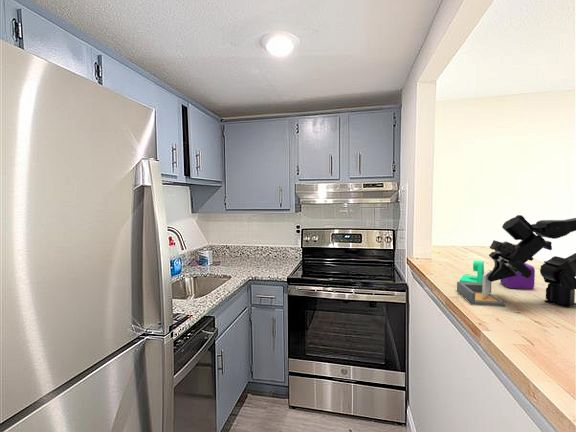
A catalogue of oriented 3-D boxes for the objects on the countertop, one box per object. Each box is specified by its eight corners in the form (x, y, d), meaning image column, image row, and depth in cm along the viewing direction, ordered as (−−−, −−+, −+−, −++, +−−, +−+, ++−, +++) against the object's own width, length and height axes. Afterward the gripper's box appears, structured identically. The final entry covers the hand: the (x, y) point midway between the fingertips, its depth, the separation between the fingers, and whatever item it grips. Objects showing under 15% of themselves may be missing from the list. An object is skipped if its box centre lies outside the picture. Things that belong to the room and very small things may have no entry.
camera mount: (463, 280, 137) (464, 257, 137) (484, 283, 133) (484, 259, 132) (459, 286, 128) (459, 261, 127) (480, 289, 123) (481, 263, 123)
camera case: (483, 291, 119) (484, 281, 119) (505, 306, 103) (505, 294, 103) (455, 290, 121) (455, 280, 121) (471, 304, 105) (472, 292, 105)
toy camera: (517, 281, 134) (518, 258, 134) (540, 290, 121) (541, 265, 120) (491, 281, 135) (491, 258, 135) (510, 290, 122) (511, 264, 121)
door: (491, 292, 114) (492, 270, 113) (485, 298, 106) (486, 275, 106) (487, 291, 114) (488, 270, 114) (481, 297, 107) (482, 275, 107)
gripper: (495, 230, 116) (462, 258, 119) (521, 235, 97) (481, 269, 100) (518, 251, 114) (485, 280, 117) (549, 261, 96) (508, 294, 99)
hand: (489, 280), depth 108 cm, fingers closed
